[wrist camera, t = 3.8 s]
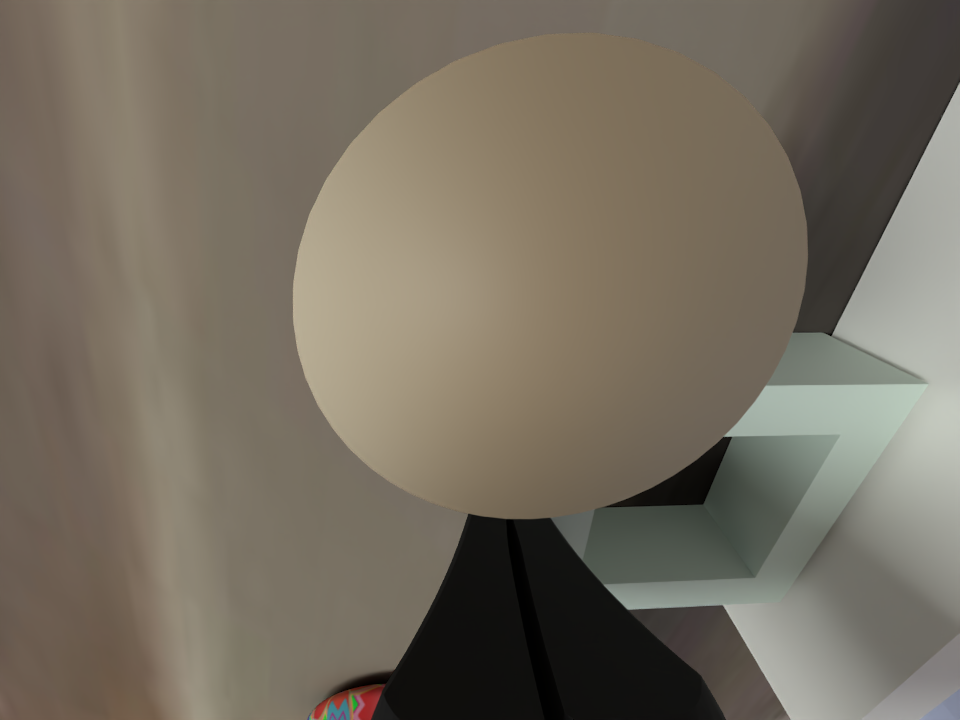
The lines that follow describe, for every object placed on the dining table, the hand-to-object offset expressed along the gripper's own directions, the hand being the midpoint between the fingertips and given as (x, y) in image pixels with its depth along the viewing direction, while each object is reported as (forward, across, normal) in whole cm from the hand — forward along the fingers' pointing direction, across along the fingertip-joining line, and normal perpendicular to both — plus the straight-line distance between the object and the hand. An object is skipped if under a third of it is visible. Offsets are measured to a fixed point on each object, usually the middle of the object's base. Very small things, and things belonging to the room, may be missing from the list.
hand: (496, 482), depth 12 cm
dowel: (+1, +1, -8) cm, 8 cm away
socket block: (+1, -6, 0) cm, 6 cm away
